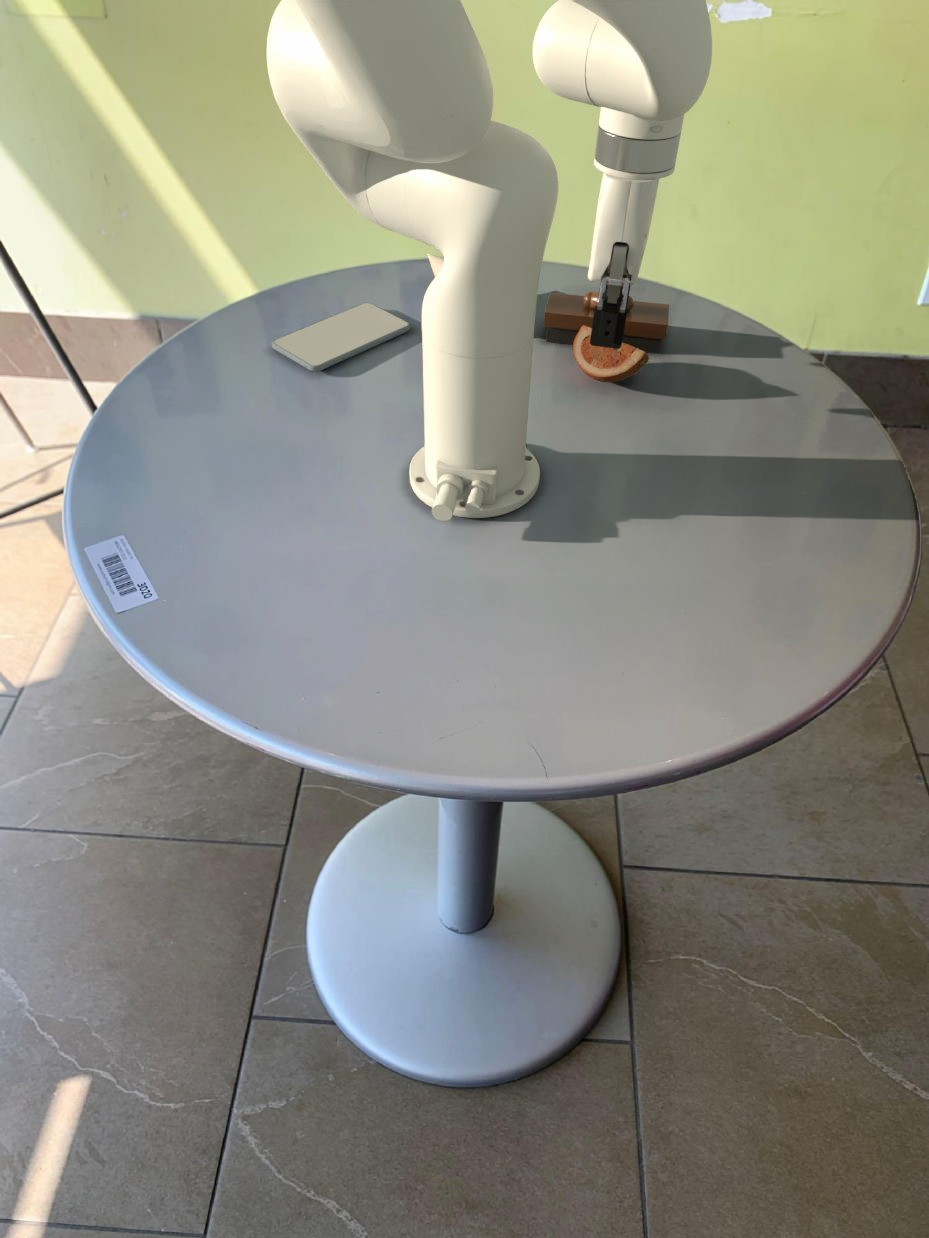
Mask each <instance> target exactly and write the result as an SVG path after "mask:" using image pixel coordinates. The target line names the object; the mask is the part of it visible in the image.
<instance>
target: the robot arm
mask: <svg viewBox="0 0 929 1238" xmlns="http://www.w3.org/2000/svg"><path fill="white" fill-rule="evenodd" d="M537 25H538V26H537V27H536V30H535V33H534V36H533V37H534V38H533V41H532V62H533V67H534V70H535V73H536V75H537V77H538V79H539V81H540V82H541V83H542V84H543V86H544V87H545V88H546V89H547V90H548V91H550V92H551V93H553V94H555V95H557V96H559V97H561V98H563V99H567V100H570V101H572V102H573V101H574V102H579V103H581V104H582V103H583V104H585V105H590V106H594V107H597V108H600V112H599V118H598V119H599V120H598V128H597V135H596V141H595V150H594V157H593V166H594V167H595V168H596V169H597V170H598V171H600V172H602V178H601V182H600V188H599V193H598V194H599V195H598V199H597V207H596V214H595V219H594V221H595V222H594V228H593V236H592V242H591V250H590V257H589V265H588V271H587V279H588V280H589V281H590V282H591V283H593V282H594V281H600V284H599V291H598V292H599V297H598V305H597V306H595V310H594V317H593V324H592V331H591V338H590V344H591V345H592V346H599V347H607V348H615V349H619V348H621V346H622V340H623V334H624V328H625V322H626V316H627V310H628V309H625V307H626V306H627V303H628V297H629V296H630V291H631V286H634V285H635V284H636V283H637V280H638V278H639V274H640V271H641V267H642V262H643V259H644V256H645V252H646V248H647V243H648V239H649V235H650V230H651V225H652V220H653V214H654V210H655V205H656V199H657V194H658V188H659V183H660V179H663V178H667V177H669V176H671V175H673V173H674V172H675V168H676V162H677V157H678V151H679V146H680V141H681V136H682V129H683V125H684V119H685V114H687V113H688V112H689V111H690V110H691V109H692V108H693V107H694V106H695V105H696V103H698V100H699V99H700V97H701V96H702V94H703V92H704V90H705V87H706V85H707V82H708V80H709V75H710V71H711V65H712V59H713V35H712V24H711V19H710V13H709V9H708V4H707V0H557V1H556V2H555V3H553V4H552V5H551V6H550V7H549V8H548V9H547V11H546V12H545V13H544V14H543V16H542V18H541V20H540V21H539V23H538V24H537ZM265 52H266V67H267V73H268V80H269V85H270V87H271V90H272V94H273V97H274V100H275V103H276V104H277V106H278V109H279V111H280V113H281V115H282V116H283V118H284V120H285V122H286V123H287V124H288V126H289V127H290V128H291V130H292V132H293V133H294V134H295V135H296V137H297V138H298V139H299V141H300V142H301V144H302V145H303V146H304V148H305V149H306V151H308V153H309V154H310V155H311V157H312V159H314V161H315V162H316V164H317V165H318V167H320V170H322V171H323V173H324V174H325V176H326V177H327V178H328V179H329V181H330V182H331V183H332V184H333V186H334V187H335V188H336V190H337V191H338V192H339V193H340V195H341V196H342V197H343V198H344V200H345V201H346V202H347V203H348V204H349V206H350V207H351V208H352V209H353V210H355V211H356V213H358V214H359V215H360V216H361V217H362V218H364V219H365V220H366V221H368V222H370V223H372V224H374V225H376V226H378V227H381V228H383V229H385V230H387V231H390V232H393V233H396V234H399V235H402V236H405V237H407V238H410V239H413V240H415V241H418V242H420V243H423V244H425V245H427V246H429V247H432V248H435V249H436V250H438V251H440V252H441V254H442V255H443V258H444V263H443V266H442V268H441V270H440V272H439V273H438V274H437V276H436V277H435V276H434V278H433V280H431V282H430V284H429V285H428V286H427V288H426V291H425V293H424V296H423V301H422V305H421V342H422V344H421V345H422V346H421V347H422V381H423V382H422V383H423V385H422V386H423V387H422V389H423V426H424V428H423V429H424V431H423V432H424V445H423V446H422V447H421V448H420V449H419V450H418V451H417V452H416V453H415V454H414V456H413V457H412V459H411V461H410V464H409V471H408V472H409V473H408V475H409V484H410V486H411V489H412V491H413V492H414V495H416V496H417V498H418V499H419V500H420V501H422V502H423V503H424V504H425V505H426V506H428V507H430V508H431V516H432V517H433V519H436V520H437V521H440V522H449V521H450V520H451V519H452V518H453V517H459V518H466V519H487V518H492V517H499V516H502V515H505V514H509V513H511V512H513V511H516V510H517V509H519V508H521V507H523V506H524V505H526V504H527V503H528V502H530V500H531V499H532V498H533V497H535V494H536V492H537V491H538V489H539V486H540V479H541V478H540V477H541V468H540V465H539V462H538V460H537V459H536V457H535V455H534V454H533V453H532V452H531V451H530V450H529V449H528V448H527V446H526V445H527V434H528V433H527V432H528V421H529V420H528V419H529V405H530V394H531V392H530V391H531V381H532V380H531V378H532V365H533V351H534V350H533V349H534V335H535V326H536V325H535V324H536V313H537V312H536V311H537V300H538V291H539V284H540V283H539V282H540V276H541V270H542V266H543V262H544V261H543V260H544V256H545V251H546V247H547V244H548V239H549V236H550V232H551V228H552V225H553V221H554V217H555V213H556V208H557V204H558V198H559V197H558V196H559V176H558V171H557V168H556V167H557V166H556V164H555V162H554V160H553V158H552V156H551V155H550V153H549V152H548V150H547V149H546V147H544V146H543V145H542V144H541V143H540V142H539V141H538V140H537V139H536V138H535V137H532V136H531V135H529V134H528V133H526V132H524V131H522V130H520V129H518V128H515V127H513V126H510V125H508V124H505V123H502V122H498V121H494V120H492V116H493V109H494V88H493V82H492V78H491V77H492V76H491V73H490V69H489V65H488V62H487V59H486V57H485V56H486V55H485V54H484V51H483V49H482V46H481V44H480V41H479V39H478V37H477V35H476V32H475V30H474V28H473V25H472V23H471V20H470V19H469V16H468V14H467V11H466V9H465V7H464V5H463V3H462V0H280V1H279V3H278V5H277V6H276V8H275V10H274V12H273V15H272V17H271V19H270V22H269V26H268V31H267V38H266V51H265Z"/></svg>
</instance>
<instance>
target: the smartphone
mask: <svg viewBox="0 0 929 1238" xmlns="http://www.w3.org/2000/svg"><path fill="white" fill-rule="evenodd" d="M410 330H411V324H410V323H409V322H408V321H407V320H404V319H402V318H400V317H399V316H397V315H394V314H393V313H391V312H389V311H386V310H385V309H383V308H381V307H379V306H377V305H376V304H373V303H371V302H362V303H359V304H357V305H355V306H352V307H350V308H347V309H344V310H343V311H340V312H337V313H335V314H333V315H329V316H328V317H325V318H323V319H321V320H318V321H316V322H313V323H310V324H308V325H306V326H304V327H301V328H299V329H296V330H294V331H292V332H289V333H287V334H284V335H282V336H279V337H277V338H275V339H273V340H272V341H271V348H272V349H274V350H275V351H277V352H278V353H280V354H282V355H284V356H285V357H287V358H289V359H290V360H292V361H294V362H295V363H297V364H299V365H300V366H302V367H304V368H305V369H307V370H308V371H310V372H313V373H314V372H315V373H316V372H317V373H318V372H320V371H323V370H325V369H328V368H330V367H331V366H334V365H337V364H339V363H341V362H342V361H346V360H347V359H350V358H352V357H354V356H356V355H359V354H361V353H363V352H365V351H368V350H371V349H373V348H374V347H376V346H379V345H380V344H384V343H386V342H387V341H389V340H391V339H394V338H396V337H399V336H401V335H403V334H405V333H407V332H409V331H410Z"/></svg>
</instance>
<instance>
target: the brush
mask: <svg viewBox="0 0 929 1238" xmlns="http://www.w3.org/2000/svg"><path fill="white" fill-rule="evenodd" d="M598 297H599V291H587V293H585V294H584V295H579V294H568V293H558V292H556V293H555V292H549V296H548V298H547V302H546V306H545V310H544V314H543V315H544V316H543V327H544V328H546V337H545V342H547V343H555V344H565V345H573V343H574V339H575V337H576V335H577V333H578V332H579V330H580V328H581V327H582V326H583V325H584V326H588V327H590V328H592V324H593V317H594V310H595V306H597V305H598ZM625 309H628V310H627V316H626V322H625V328H624V334H623V340H622V343H625V344H629V345H631V346H633V347H635V348H638V349H640V350H642V351H645V352H646V353H650V354H660V350H661V344H662V340H666V337H667V332H668V327H669V314H670V304H667V303H658V302H657V303H656V302H648V301H639V300H638V301H637V300H634V299H633V297H632V296H630V295H629V297H628V303H627V306H626V307H625Z"/></svg>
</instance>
